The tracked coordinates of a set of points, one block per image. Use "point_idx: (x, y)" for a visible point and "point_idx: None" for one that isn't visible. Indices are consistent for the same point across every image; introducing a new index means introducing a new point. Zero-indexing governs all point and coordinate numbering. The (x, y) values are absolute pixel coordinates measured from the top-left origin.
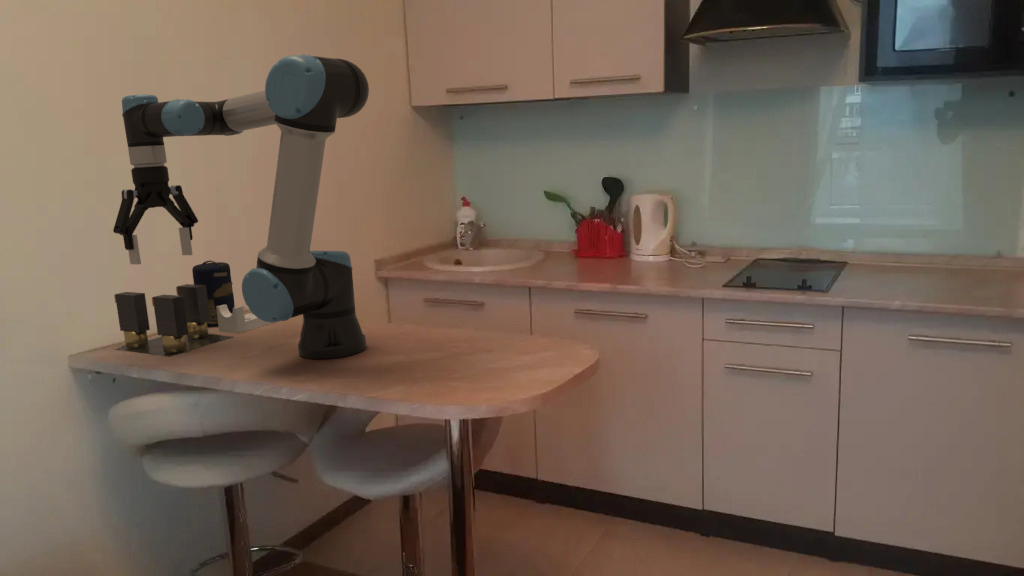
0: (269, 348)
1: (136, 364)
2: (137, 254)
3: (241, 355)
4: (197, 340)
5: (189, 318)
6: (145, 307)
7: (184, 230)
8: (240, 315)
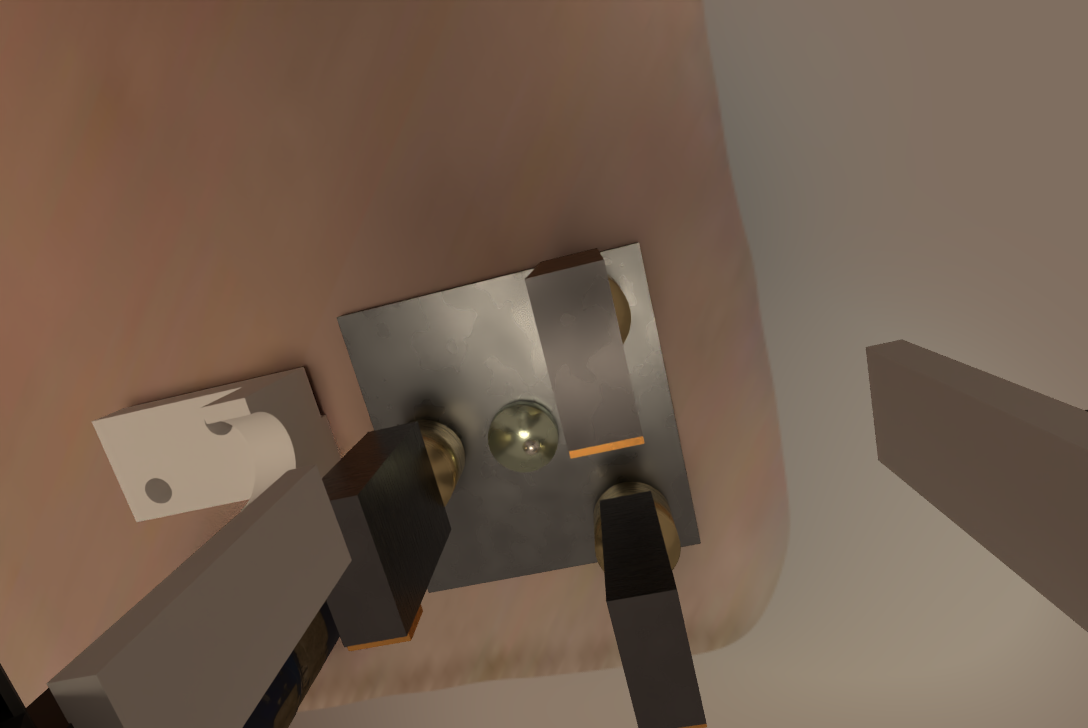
0: (310, 43)
1: (738, 293)
2: (958, 366)
3: (434, 37)
4: (455, 396)
5: (432, 489)
6: (610, 554)
7: (152, 680)
8: (244, 391)
